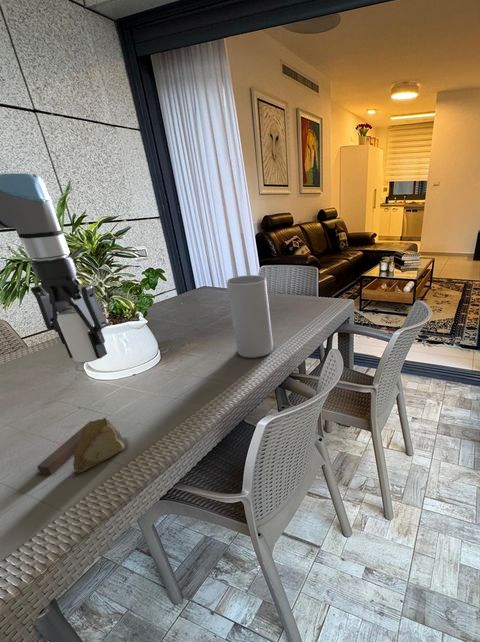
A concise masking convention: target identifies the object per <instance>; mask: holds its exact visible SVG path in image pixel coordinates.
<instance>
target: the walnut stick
mask: <svg viewBox="0 0 480 642" xmlns="http://www.w3.org/2000/svg"><path fill="white" fill-rule="evenodd" d="M93 421H94V420H90V421H88V422H87V423H86V424H84V425H83V426H82V427H81V428H80V429H79V430H78V431H77V432H75V433H74V434H73V435H72V436H70V437H69V439H67V440H66V441H65V442H64V443H63V444H61V445H60V446H59V447H58V448H57V449H55V450H54V451H53V452H52V453H51V454H49V456H47V457H46V458H45V459H43V461H42V462H40V463H39V464H38V465H37V466H36V468H37V469H38V471H39V473H40V474H42V475H53V474H54V473H55V472H56V471H57V470H58V469H59V468H60V467H61V466H62V465H63V464H64V463H66V462H67V461H68V460H69V459H70V458H71V457H72V456H74V453H75V450H76V449H77V448H78V444H79V440H80V438H81V431H82V430H83V429H84V428H86V427H87V426H88V425H90V424H91V423H92V422H93Z"/></svg>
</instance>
